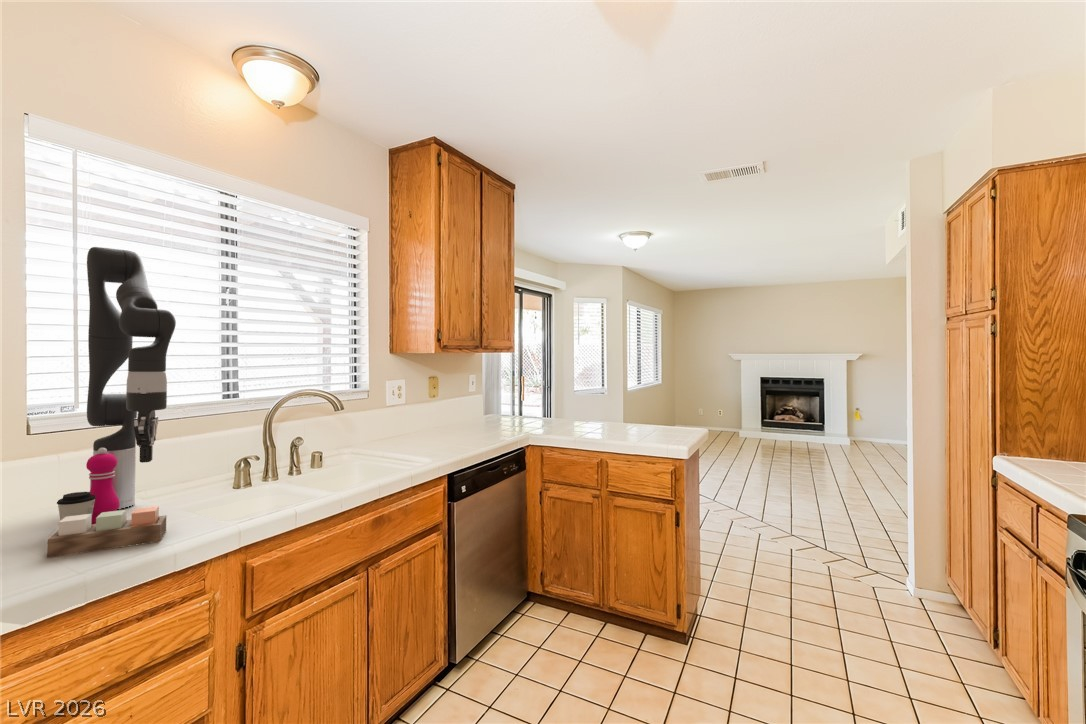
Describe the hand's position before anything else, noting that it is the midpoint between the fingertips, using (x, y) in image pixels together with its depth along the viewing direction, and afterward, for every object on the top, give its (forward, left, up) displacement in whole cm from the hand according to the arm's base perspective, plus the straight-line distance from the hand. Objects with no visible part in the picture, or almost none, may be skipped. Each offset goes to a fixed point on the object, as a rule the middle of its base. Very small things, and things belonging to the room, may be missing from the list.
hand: (145, 461), depth 114 cm
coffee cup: (-19, -1, -19) cm, 27 cm away
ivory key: (-10, -8, -16) cm, 20 cm away
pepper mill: (-22, +7, -19) cm, 30 cm away
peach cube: (0, 0, -16) cm, 16 cm away
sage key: (-5, -4, -16) cm, 17 cm away
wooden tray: (-5, -4, -19) cm, 20 cm away
